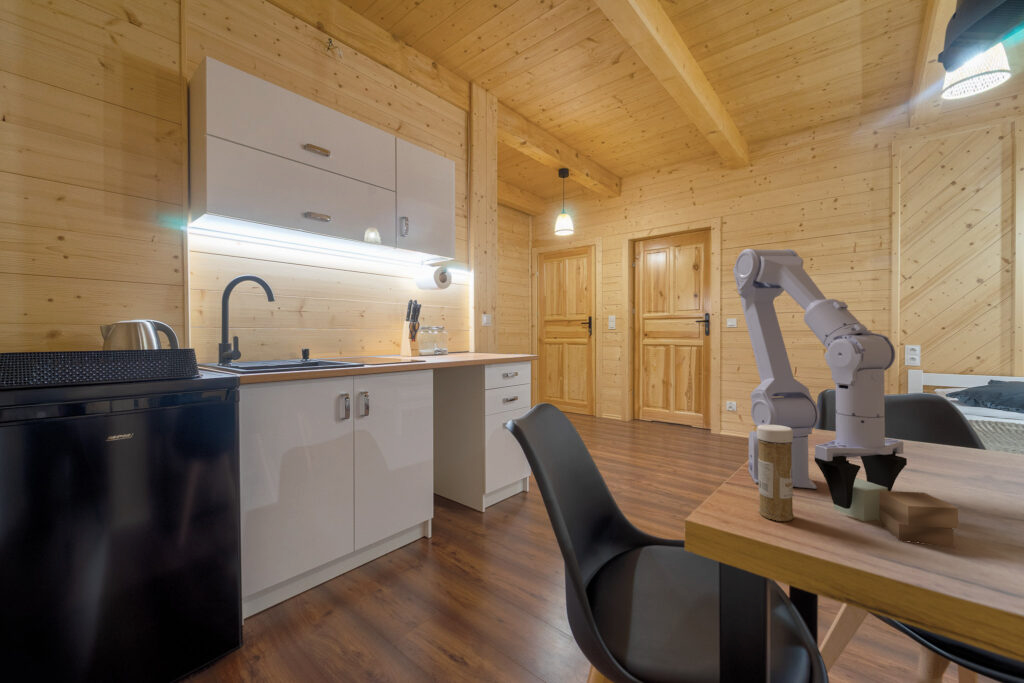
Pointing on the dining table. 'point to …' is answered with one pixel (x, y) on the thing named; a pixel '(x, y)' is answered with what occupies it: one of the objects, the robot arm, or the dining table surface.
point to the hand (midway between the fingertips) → (860, 503)
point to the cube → (864, 501)
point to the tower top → (918, 509)
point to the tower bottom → (917, 532)
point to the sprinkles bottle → (775, 472)
